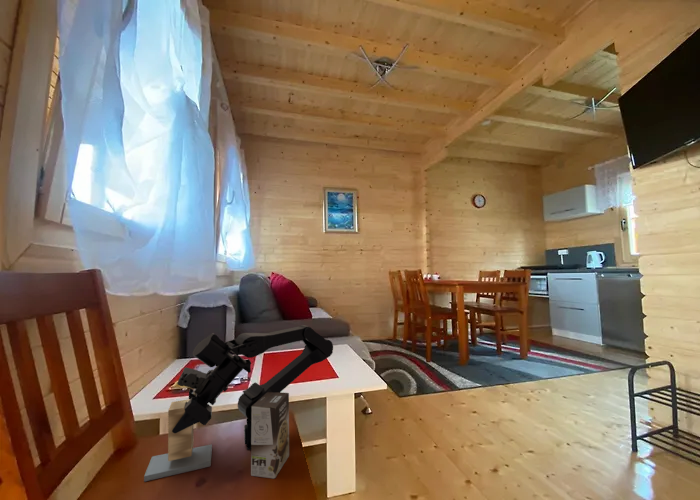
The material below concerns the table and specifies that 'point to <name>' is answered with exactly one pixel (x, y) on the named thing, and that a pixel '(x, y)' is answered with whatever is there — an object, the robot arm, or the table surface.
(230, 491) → the table surface
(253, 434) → the coffee box
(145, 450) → the table surface
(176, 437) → the block
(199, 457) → the slate board
